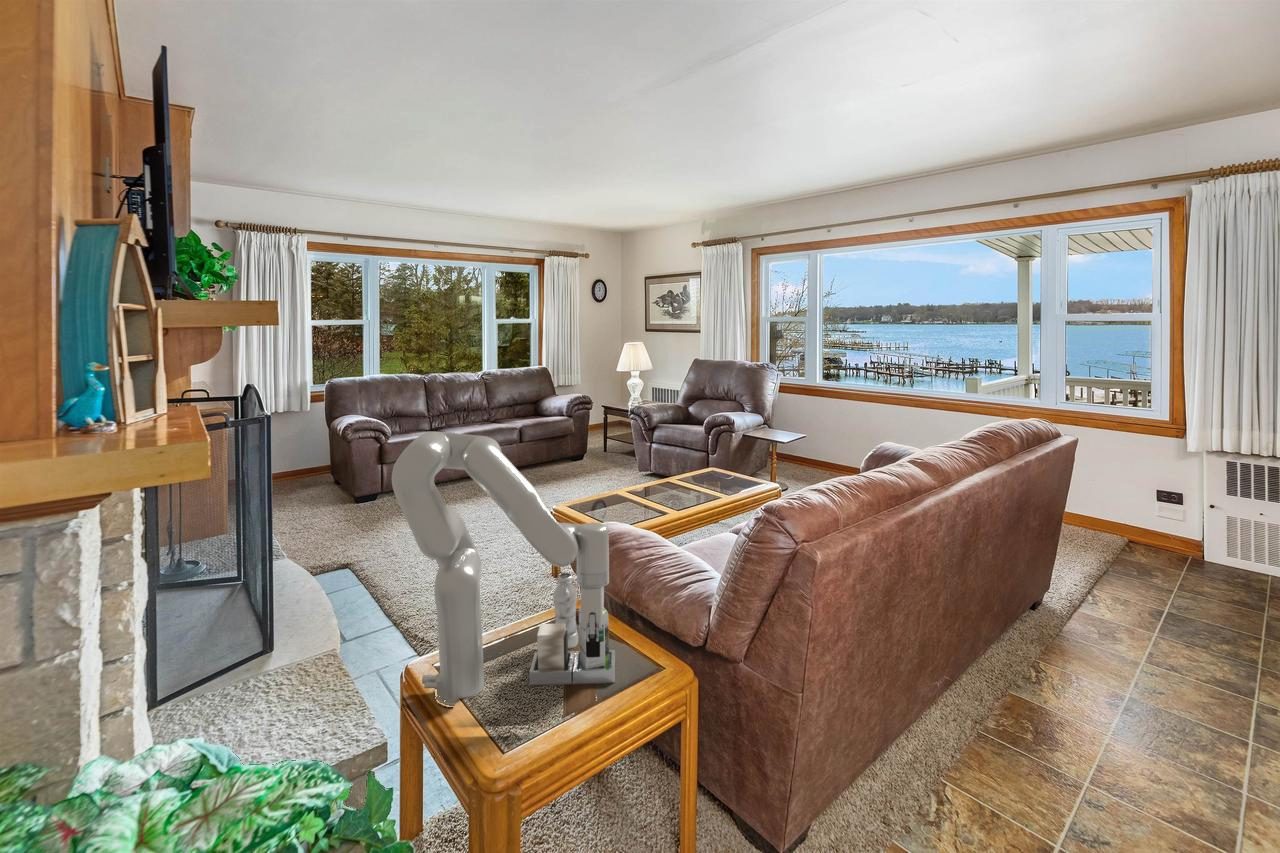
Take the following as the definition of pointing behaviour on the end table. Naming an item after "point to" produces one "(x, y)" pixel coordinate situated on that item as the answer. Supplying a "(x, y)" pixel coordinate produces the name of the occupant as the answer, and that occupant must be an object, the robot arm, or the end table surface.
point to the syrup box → (603, 660)
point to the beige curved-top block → (552, 647)
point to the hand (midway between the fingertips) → (593, 647)
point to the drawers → (573, 672)
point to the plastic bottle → (566, 607)
